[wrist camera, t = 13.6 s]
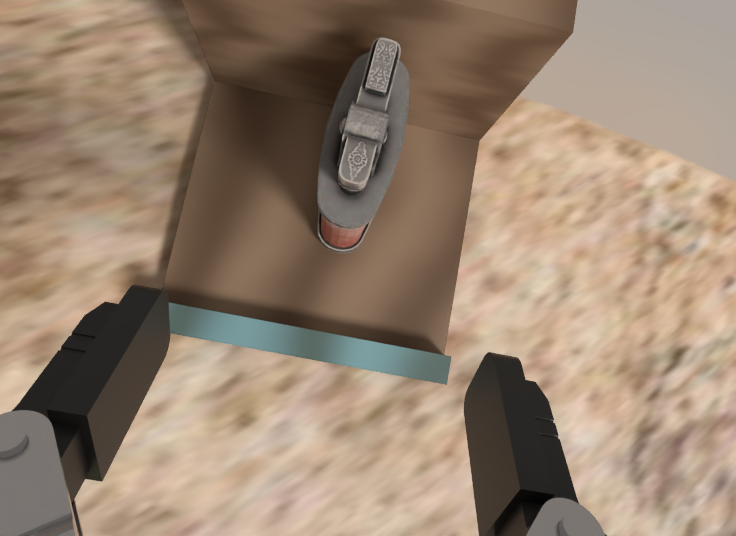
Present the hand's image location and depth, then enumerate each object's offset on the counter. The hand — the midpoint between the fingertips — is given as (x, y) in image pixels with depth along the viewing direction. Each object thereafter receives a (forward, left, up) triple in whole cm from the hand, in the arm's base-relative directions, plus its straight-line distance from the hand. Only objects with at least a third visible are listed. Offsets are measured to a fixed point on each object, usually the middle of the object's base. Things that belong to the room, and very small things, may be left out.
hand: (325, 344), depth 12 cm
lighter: (0, +9, -15) cm, 18 cm away
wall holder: (-1, +7, -16) cm, 18 cm away
